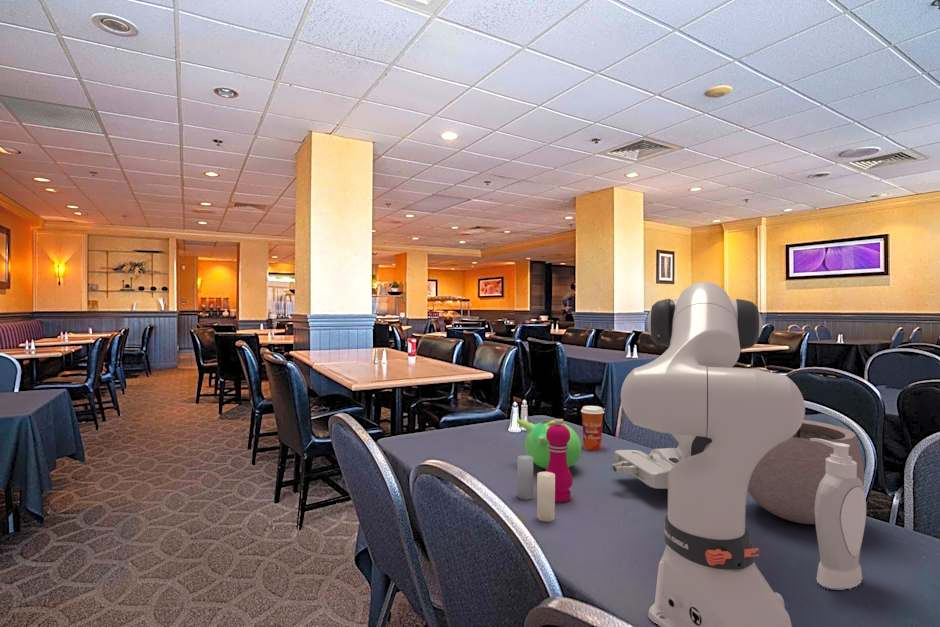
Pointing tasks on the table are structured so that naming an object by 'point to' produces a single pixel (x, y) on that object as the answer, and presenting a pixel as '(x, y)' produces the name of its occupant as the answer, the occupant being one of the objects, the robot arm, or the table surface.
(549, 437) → the pepper mill
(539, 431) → the toy bird
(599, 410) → the paper cup
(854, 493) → the soap bottle
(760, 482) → the plant pot
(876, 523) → the table surface
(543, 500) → the cream post
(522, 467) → the slate post
